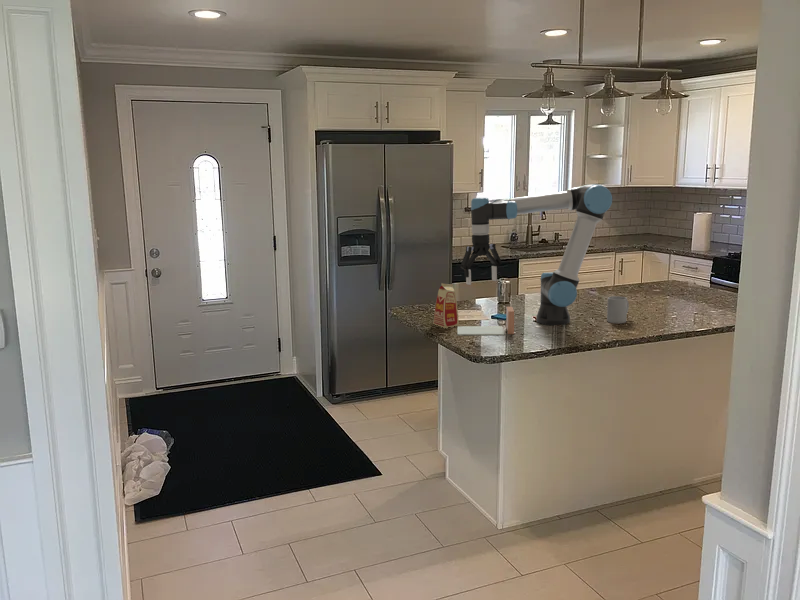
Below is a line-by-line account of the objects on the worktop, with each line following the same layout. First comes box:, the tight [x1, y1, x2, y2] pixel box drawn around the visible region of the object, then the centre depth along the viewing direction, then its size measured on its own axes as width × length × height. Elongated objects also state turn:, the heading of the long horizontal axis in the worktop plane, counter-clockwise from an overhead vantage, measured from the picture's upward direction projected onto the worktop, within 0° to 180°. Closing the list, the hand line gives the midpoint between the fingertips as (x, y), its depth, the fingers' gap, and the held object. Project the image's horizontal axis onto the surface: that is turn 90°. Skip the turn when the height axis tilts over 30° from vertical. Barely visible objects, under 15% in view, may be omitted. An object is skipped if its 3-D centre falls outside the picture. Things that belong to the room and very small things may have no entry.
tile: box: [505, 306, 515, 335], centre depth 297 cm, size 2×10×10 cm, turn 175°
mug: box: [606, 295, 630, 324], centre depth 311 cm, size 12×8×11 cm
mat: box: [456, 325, 505, 336], centre depth 299 cm, size 20×14×1 cm
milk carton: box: [432, 282, 460, 329], centre depth 310 cm, size 9×9×20 cm
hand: (481, 282), depth 297 cm, fingers open, 13 cm apart
